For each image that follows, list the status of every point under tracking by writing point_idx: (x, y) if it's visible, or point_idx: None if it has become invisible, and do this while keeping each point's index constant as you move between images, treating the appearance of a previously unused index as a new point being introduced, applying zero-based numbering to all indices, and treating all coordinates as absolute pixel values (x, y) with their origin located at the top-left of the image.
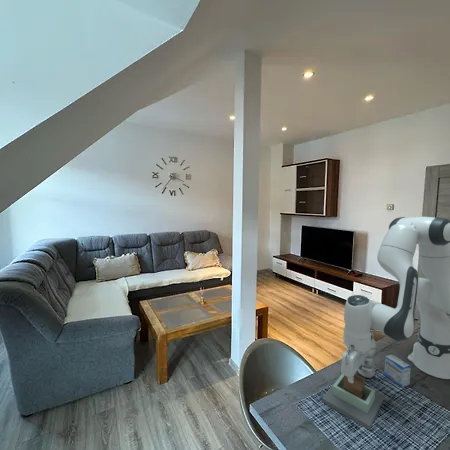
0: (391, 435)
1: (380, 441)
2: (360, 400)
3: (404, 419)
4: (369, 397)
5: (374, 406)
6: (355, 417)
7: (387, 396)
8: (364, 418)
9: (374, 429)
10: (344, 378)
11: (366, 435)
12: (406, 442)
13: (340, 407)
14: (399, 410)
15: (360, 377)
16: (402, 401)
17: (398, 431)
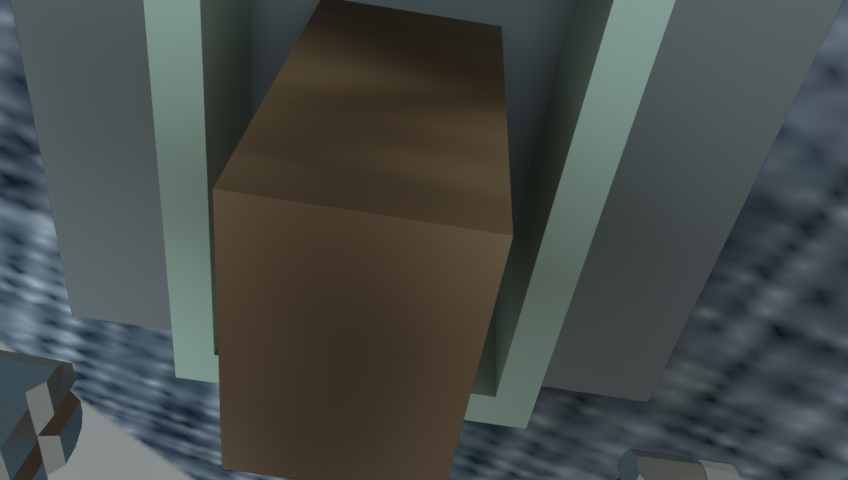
0: (194, 410)
1: (57, 353)
2: (172, 309)
3: (450, 477)
4: None
5: None
6: (51, 196)
7: (697, 389)
8: (126, 271)
9: None
10: (238, 158)
11: (9, 268)
12: (214, 475)
13: (34, 13)
14: (541, 456)
15: (413, 449)
16: None
17: None
